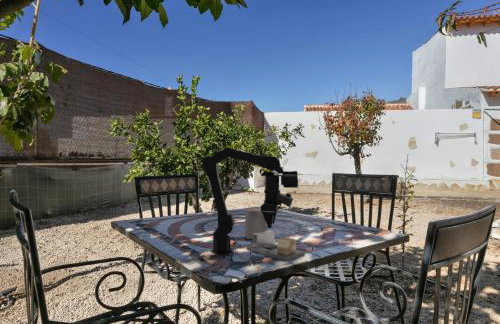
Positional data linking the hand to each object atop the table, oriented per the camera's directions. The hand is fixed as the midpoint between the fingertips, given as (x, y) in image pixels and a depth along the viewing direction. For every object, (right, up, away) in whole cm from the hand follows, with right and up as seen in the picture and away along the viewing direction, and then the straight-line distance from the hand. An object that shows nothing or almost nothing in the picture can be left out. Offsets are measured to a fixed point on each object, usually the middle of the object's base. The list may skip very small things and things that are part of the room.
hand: (271, 225), depth 145 cm
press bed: (+1, -11, 0) cm, 11 cm away
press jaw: (-3, -9, +4) cm, 10 cm away
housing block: (+6, -9, -6) cm, 12 cm away
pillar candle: (-6, -10, +26) cm, 28 cm away
